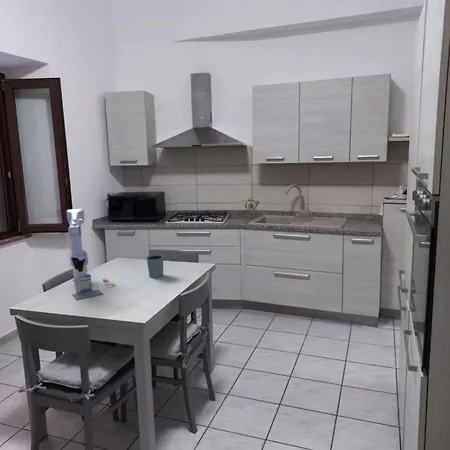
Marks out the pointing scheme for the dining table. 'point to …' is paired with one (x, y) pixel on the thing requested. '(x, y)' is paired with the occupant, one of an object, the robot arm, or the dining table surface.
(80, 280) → the medicine box
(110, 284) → the beech turner
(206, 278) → the dining table surface
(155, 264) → the teal utensil pot
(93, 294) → the slate mat
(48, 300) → the dining table surface
